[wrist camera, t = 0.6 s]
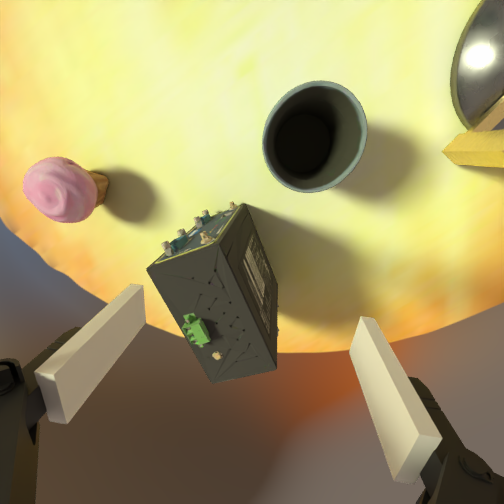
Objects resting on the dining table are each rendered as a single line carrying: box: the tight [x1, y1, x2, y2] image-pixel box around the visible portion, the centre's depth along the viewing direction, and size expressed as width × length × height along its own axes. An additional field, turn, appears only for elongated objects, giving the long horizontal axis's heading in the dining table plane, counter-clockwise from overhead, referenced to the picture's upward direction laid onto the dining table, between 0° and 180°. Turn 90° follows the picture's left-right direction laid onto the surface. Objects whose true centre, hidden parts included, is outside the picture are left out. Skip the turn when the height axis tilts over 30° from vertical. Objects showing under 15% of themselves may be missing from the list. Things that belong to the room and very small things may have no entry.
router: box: [146, 202, 279, 384], centre depth 34 cm, size 8×18×20 cm, turn 22°
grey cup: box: [262, 81, 367, 193], centre depth 30 cm, size 10×10×12 cm
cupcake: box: [23, 157, 109, 223], centre depth 36 cm, size 9×9×10 cm
